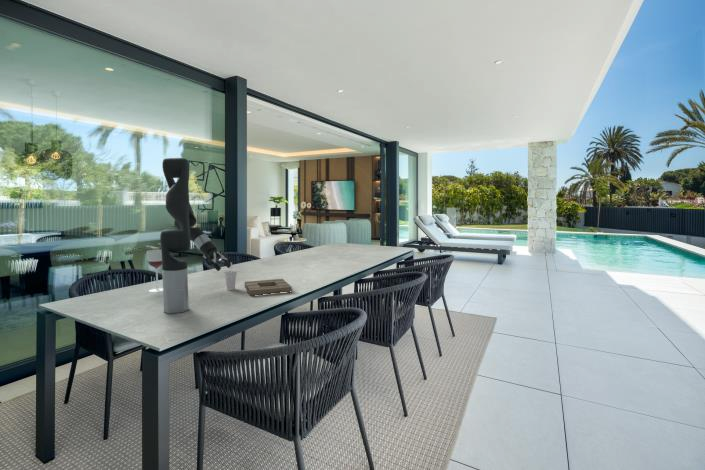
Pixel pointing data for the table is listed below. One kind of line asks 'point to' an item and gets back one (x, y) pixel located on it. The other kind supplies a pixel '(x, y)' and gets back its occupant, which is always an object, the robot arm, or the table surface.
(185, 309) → the robot arm
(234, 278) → the smoothie
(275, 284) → the caddy
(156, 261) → the wineglass
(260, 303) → the table surface
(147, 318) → the table surface
